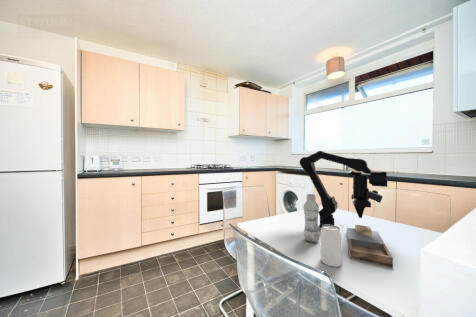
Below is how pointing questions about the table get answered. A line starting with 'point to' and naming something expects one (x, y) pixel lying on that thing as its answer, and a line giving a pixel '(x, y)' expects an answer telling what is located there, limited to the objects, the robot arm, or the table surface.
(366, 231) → the tile
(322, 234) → the can
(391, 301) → the table surface
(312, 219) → the plastic bottle
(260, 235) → the table surface
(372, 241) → the plate
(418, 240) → the table surface
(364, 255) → the box
